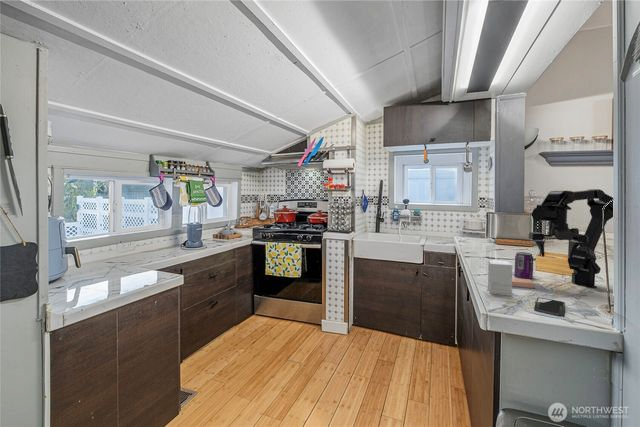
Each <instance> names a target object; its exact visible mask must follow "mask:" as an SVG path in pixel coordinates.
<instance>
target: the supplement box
mask: <svg viewBox="0 0 640 427" xmlns="http://www.w3.org/2000/svg"><path fill="white" fill-rule="evenodd" d="M487 263H488V272H487V273H488V274H487V289H488V291H489V293H490V294H491V295H492V294H493V295H503V296H511V297H512V292H513V289H512V278H513V264H512V263H511V262H510V261H509V260H507V261H506V260H493V259H492V260H491V259H488V262H487Z"/></svg>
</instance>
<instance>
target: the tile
mask: <svg viewBox="0 0 640 427" xmlns="http://www.w3.org/2000/svg"><path fill="white" fill-rule="evenodd" d="M535 283H536V282H534V281H533V280H532V279H523V278H518V277H516V278H514V277H512V287H522V288H535Z"/></svg>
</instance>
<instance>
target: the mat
mask: <svg viewBox="0 0 640 427" xmlns="http://www.w3.org/2000/svg"><path fill="white" fill-rule="evenodd" d="M534 283H535V288H522V287H512V290H520V291H533V292H543V293H551V291H549V290H548V289H547V288H546V287H545V286H543V285H542V284H540V283H536V282H534Z"/></svg>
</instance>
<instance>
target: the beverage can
mask: <svg viewBox="0 0 640 427" xmlns="http://www.w3.org/2000/svg"><path fill="white" fill-rule="evenodd" d="M513 274H514V275H513V276H514V277H516V278H517V279H530V280H532V279H533V278H534V256H533V253H531V252H525V251H523V252H522V251H518V252H516V254H515V256H514V273H513Z"/></svg>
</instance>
